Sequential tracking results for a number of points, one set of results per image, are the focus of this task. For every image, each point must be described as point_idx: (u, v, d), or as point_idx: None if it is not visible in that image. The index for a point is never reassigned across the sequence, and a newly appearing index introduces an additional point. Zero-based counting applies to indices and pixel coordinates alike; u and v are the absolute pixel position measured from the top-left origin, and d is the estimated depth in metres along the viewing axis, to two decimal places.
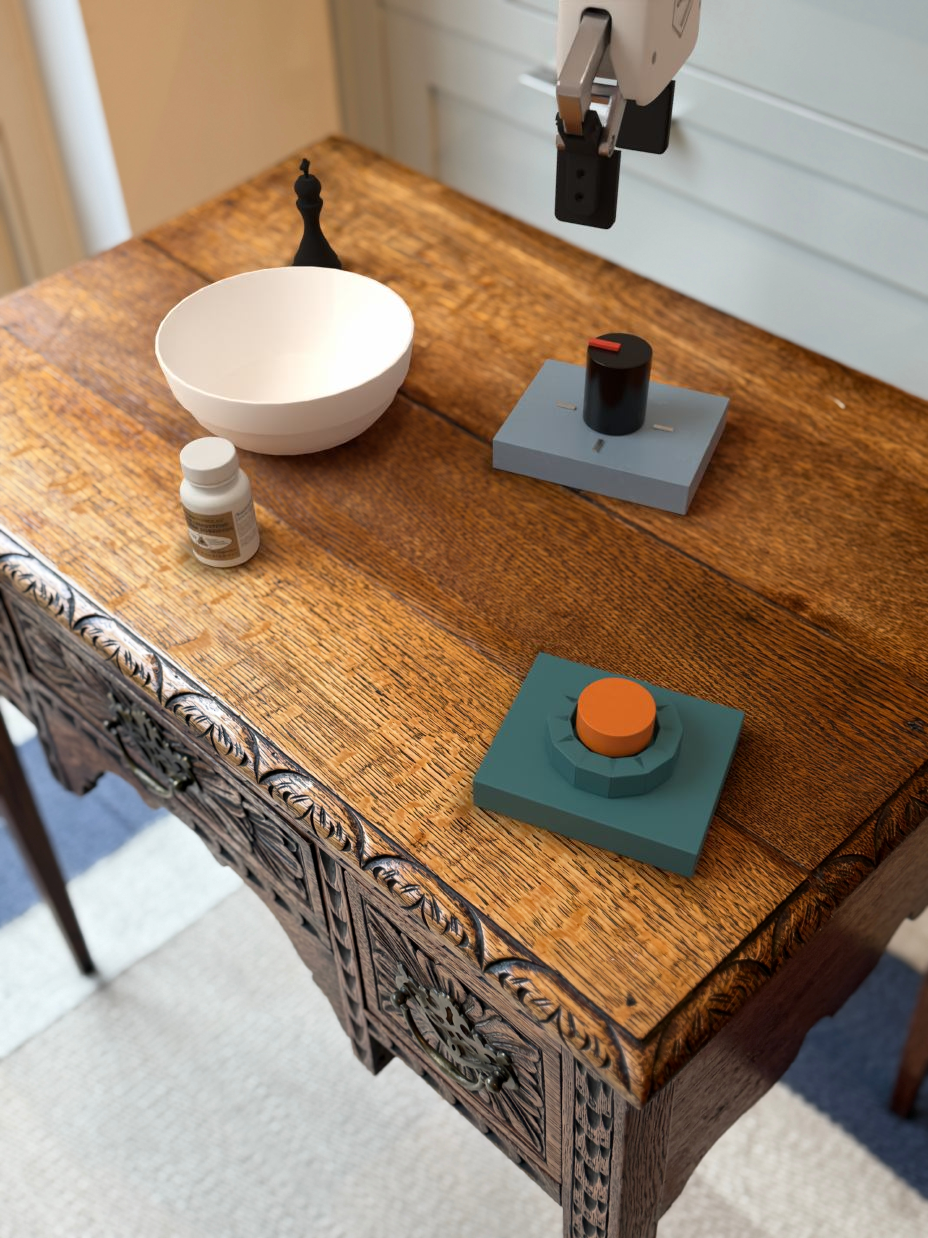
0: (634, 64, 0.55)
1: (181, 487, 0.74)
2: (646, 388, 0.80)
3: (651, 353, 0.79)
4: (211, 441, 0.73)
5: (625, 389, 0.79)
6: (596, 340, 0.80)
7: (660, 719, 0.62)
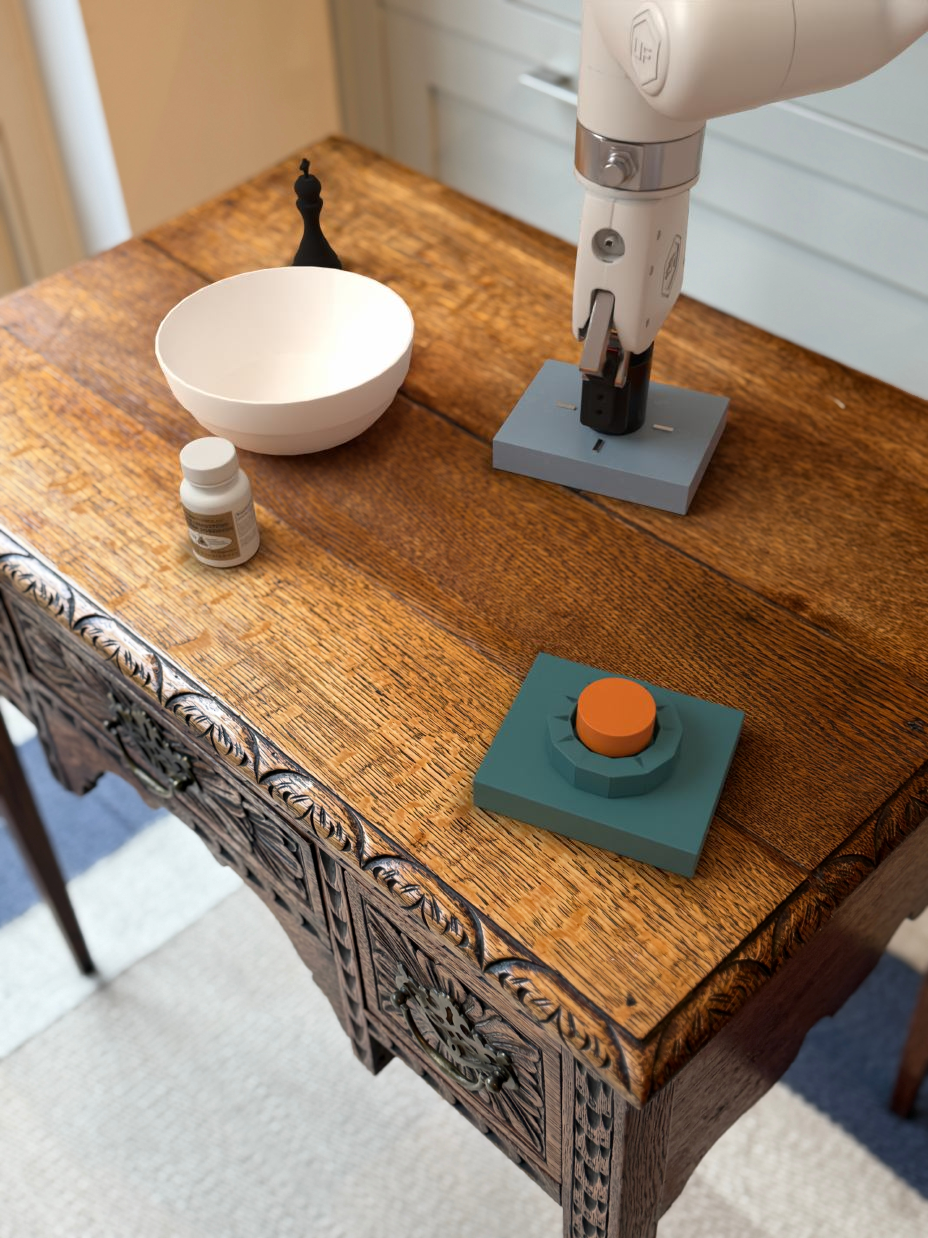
0: (632, 329, 0.72)
1: (181, 487, 0.74)
2: (646, 388, 0.80)
3: (651, 353, 0.79)
4: (211, 441, 0.73)
5: None
6: None
7: (660, 719, 0.62)
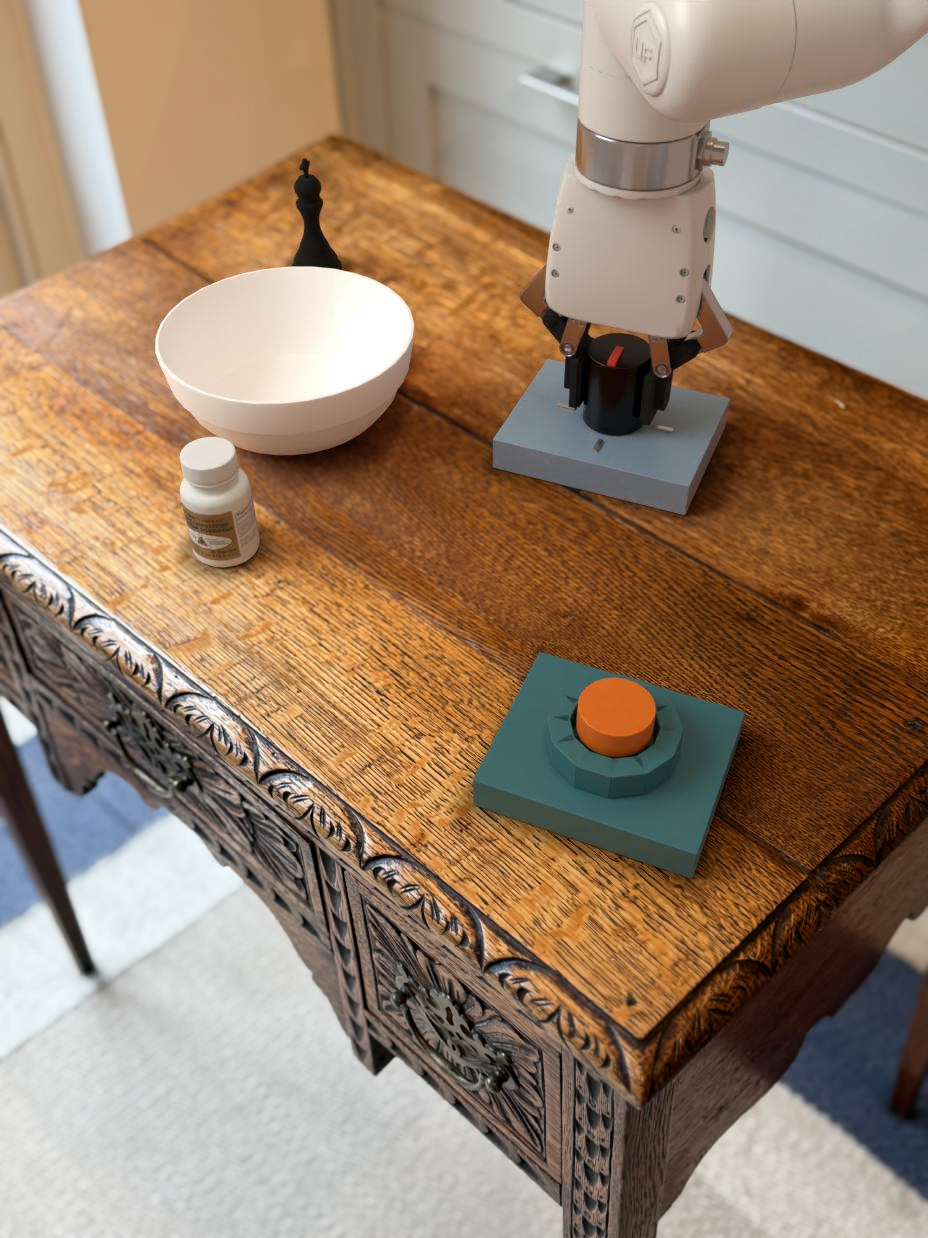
0: None
1: (181, 487, 0.74)
2: None
3: (623, 333, 0.81)
4: (211, 441, 0.73)
5: None
6: (612, 358, 0.78)
7: (660, 719, 0.62)
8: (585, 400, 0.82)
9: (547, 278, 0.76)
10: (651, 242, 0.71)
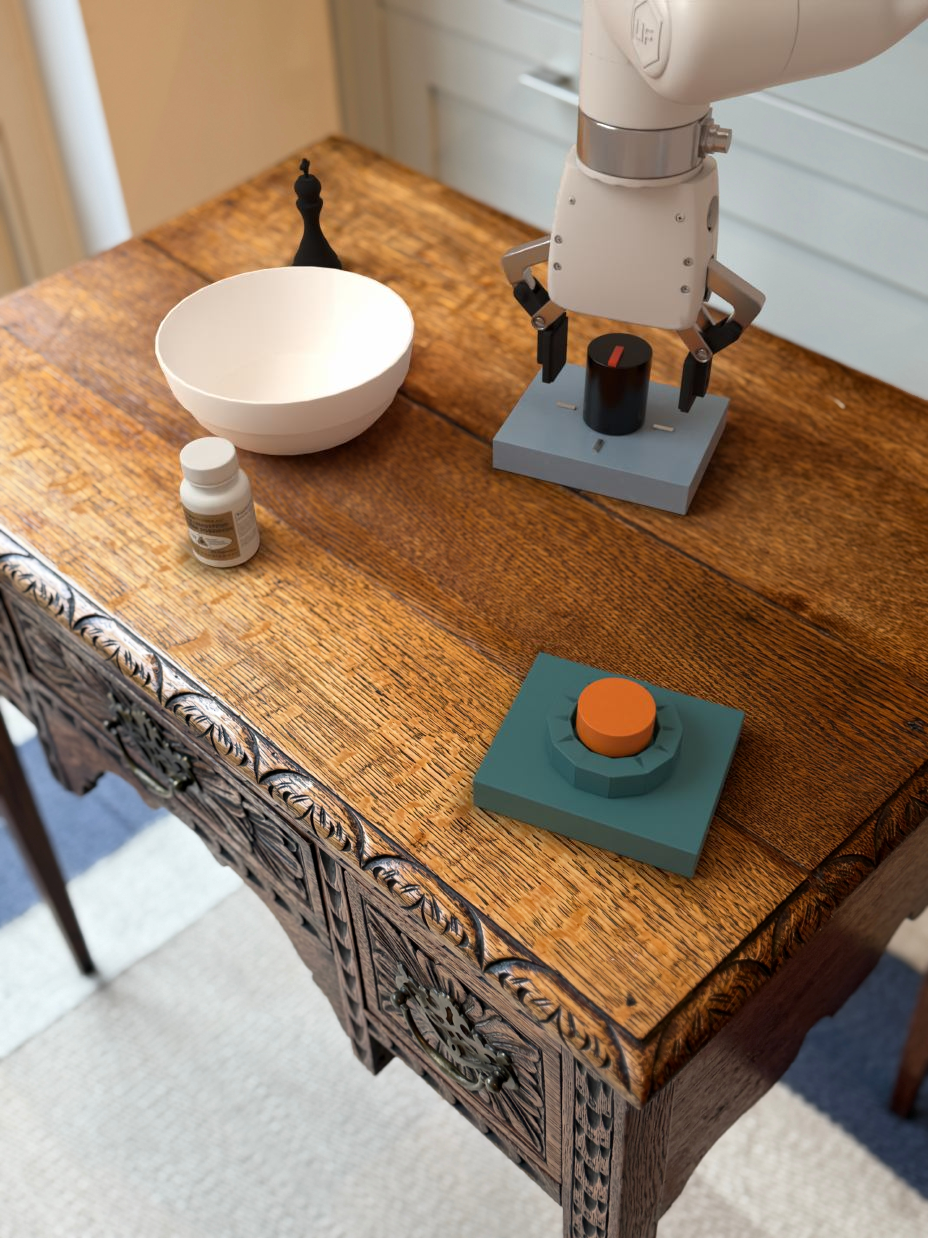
0: None
1: (181, 487, 0.74)
2: None
3: (622, 333, 0.81)
4: (211, 441, 0.73)
5: None
6: (613, 358, 0.78)
7: (660, 719, 0.62)
8: (585, 401, 0.82)
9: (549, 271, 0.75)
10: (654, 232, 0.70)
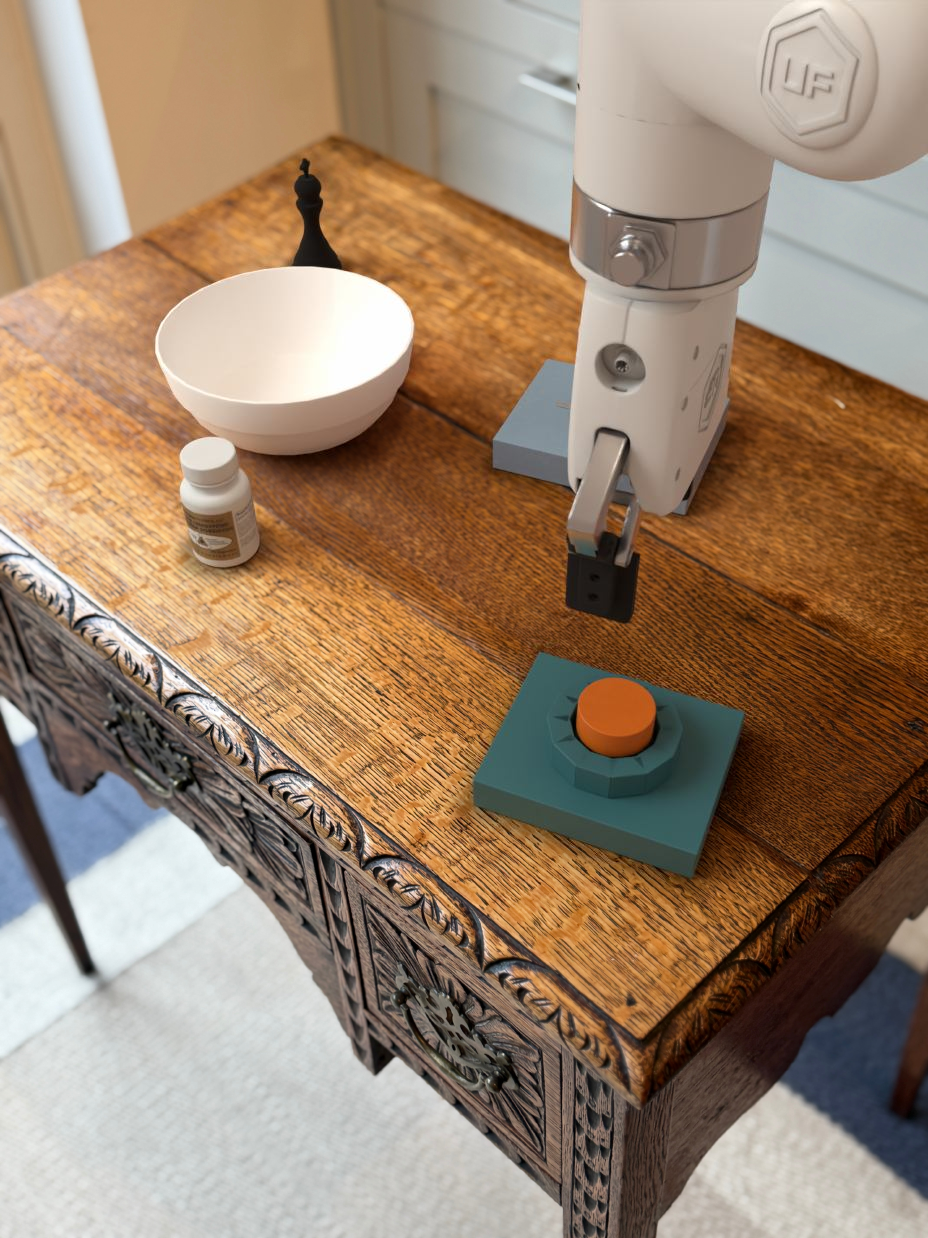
0: (655, 484, 0.49)
1: (181, 487, 0.74)
2: None
3: None
4: (211, 441, 0.73)
5: None
6: None
7: (660, 719, 0.62)
8: None
9: None
10: None
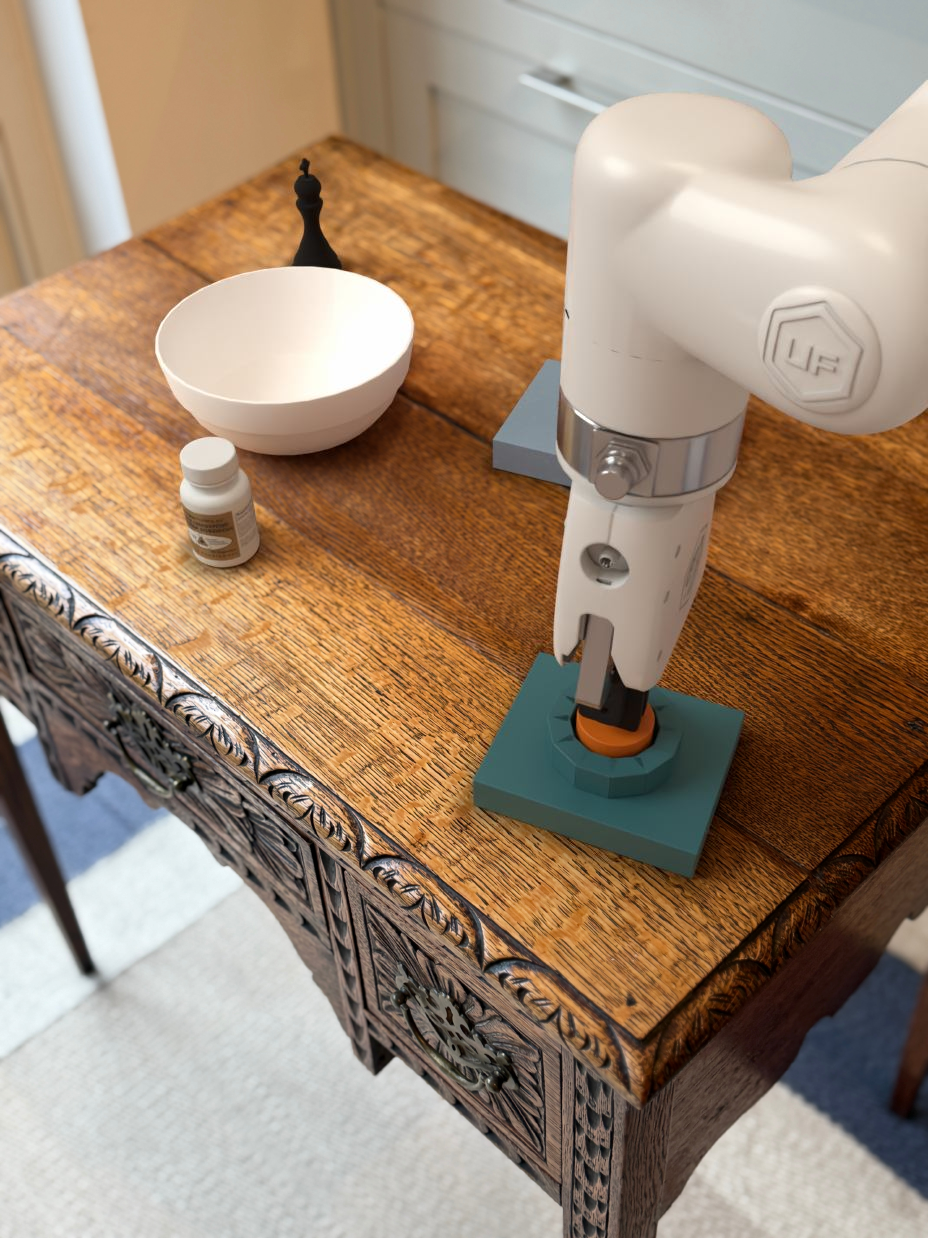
0: (638, 666, 0.51)
1: (181, 487, 0.74)
2: None
3: None
4: (211, 441, 0.73)
5: None
6: None
7: (660, 719, 0.62)
8: None
9: None
10: None
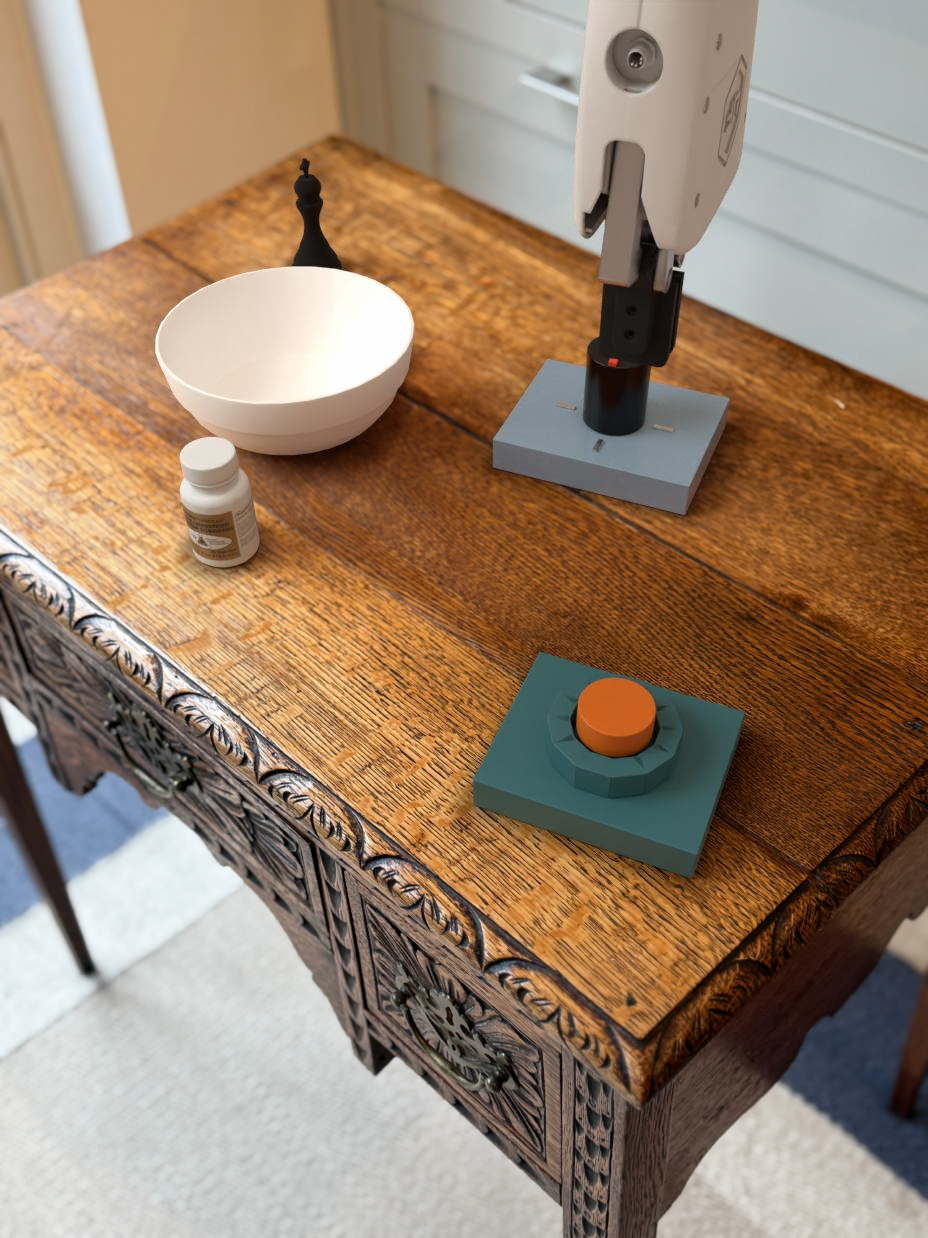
0: (673, 209, 0.44)
1: (181, 487, 0.74)
2: None
3: None
4: (211, 441, 0.73)
5: None
6: None
7: (660, 719, 0.62)
8: (585, 401, 0.82)
9: None
10: None
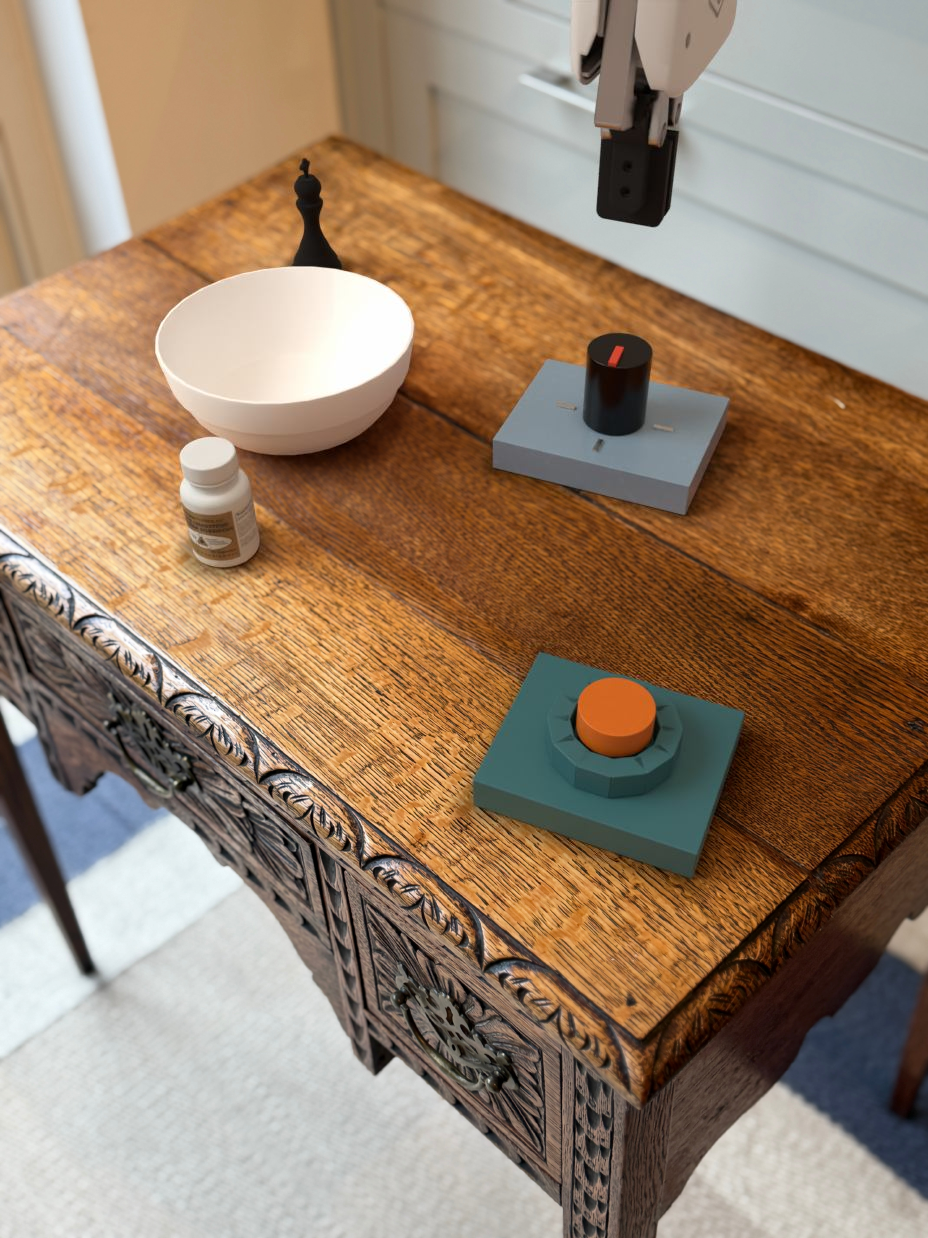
0: (664, 48, 0.46)
1: (181, 487, 0.74)
2: None
3: (622, 333, 0.81)
4: (211, 441, 0.73)
5: None
6: (613, 358, 0.78)
7: (660, 719, 0.62)
8: (585, 401, 0.82)
9: None
10: None
